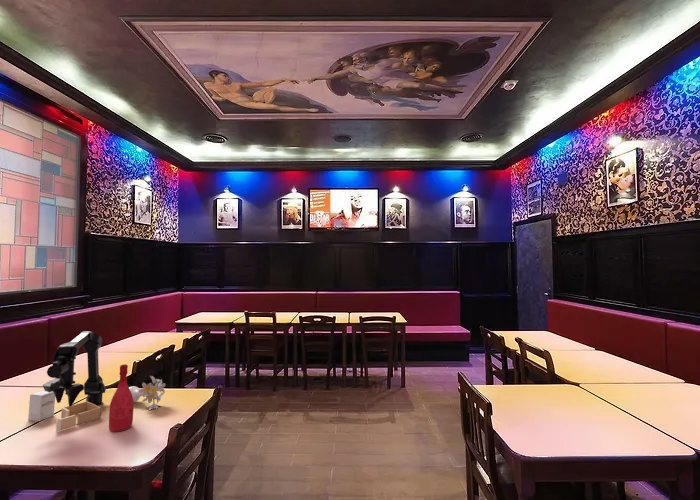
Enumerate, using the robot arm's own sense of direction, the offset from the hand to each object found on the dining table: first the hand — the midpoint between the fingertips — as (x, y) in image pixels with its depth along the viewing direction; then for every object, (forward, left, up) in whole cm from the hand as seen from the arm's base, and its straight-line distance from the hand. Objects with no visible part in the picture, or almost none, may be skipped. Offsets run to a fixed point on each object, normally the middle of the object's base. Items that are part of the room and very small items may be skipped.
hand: (64, 404), depth 168 cm
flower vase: (-36, +2, -12) cm, 38 cm away
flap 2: (0, +2, -11) cm, 11 cm away
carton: (-10, -6, -11) cm, 17 cm away
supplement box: (+1, -24, -12) cm, 27 cm away
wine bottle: (-15, +22, -12) cm, 29 cm away
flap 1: (-4, -11, -11) cm, 16 cm away
